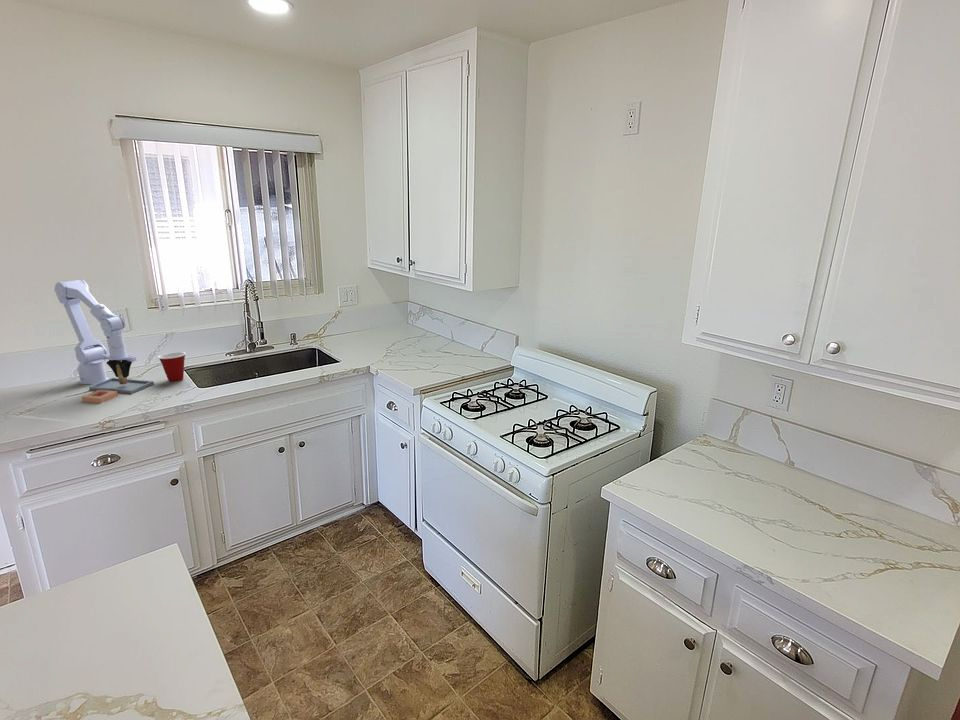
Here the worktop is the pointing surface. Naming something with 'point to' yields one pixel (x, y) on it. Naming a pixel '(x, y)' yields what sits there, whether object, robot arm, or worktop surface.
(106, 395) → the orange square hole block
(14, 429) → the worktop surface
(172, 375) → the plastic cup
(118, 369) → the dowel pin
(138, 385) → the tray
